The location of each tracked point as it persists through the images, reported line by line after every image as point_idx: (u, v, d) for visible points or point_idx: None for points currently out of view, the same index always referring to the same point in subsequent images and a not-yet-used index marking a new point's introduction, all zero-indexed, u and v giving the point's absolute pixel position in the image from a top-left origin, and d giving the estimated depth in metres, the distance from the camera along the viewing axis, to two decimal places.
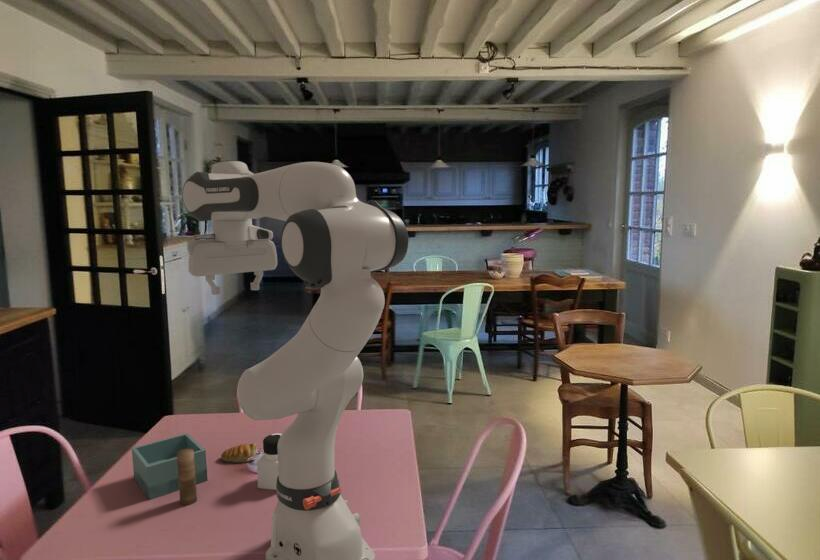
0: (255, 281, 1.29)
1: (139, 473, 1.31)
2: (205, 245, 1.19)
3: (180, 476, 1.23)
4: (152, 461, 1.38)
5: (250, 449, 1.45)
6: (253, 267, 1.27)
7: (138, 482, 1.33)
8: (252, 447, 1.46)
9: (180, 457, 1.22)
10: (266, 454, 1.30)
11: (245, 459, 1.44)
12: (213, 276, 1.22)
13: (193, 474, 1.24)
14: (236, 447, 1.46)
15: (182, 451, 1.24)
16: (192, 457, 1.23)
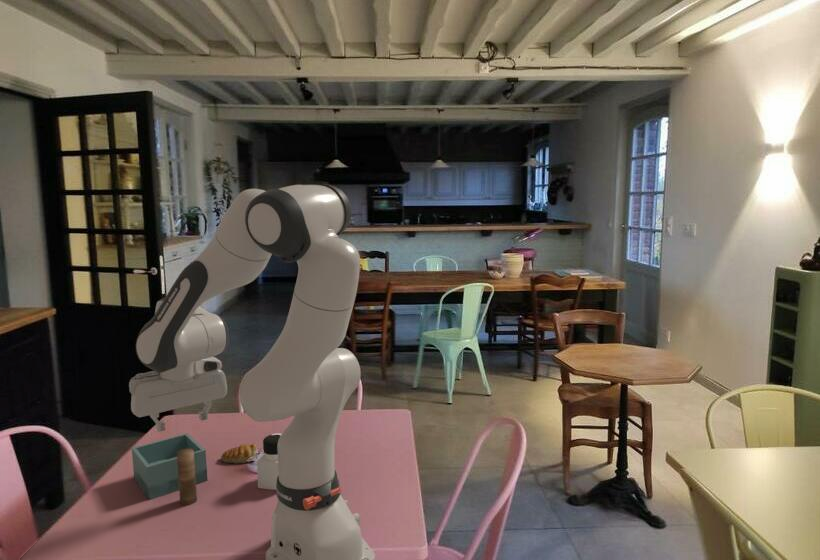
0: (204, 410, 1.26)
1: (139, 473, 1.31)
2: (147, 385, 1.15)
3: (180, 476, 1.23)
4: (152, 461, 1.38)
5: (251, 450, 1.45)
6: (201, 399, 1.23)
7: (138, 482, 1.33)
8: (253, 448, 1.45)
9: (180, 457, 1.22)
10: (266, 454, 1.30)
11: (246, 460, 1.44)
12: (157, 414, 1.18)
13: (193, 474, 1.24)
14: (236, 448, 1.46)
15: (182, 451, 1.24)
16: (192, 457, 1.23)
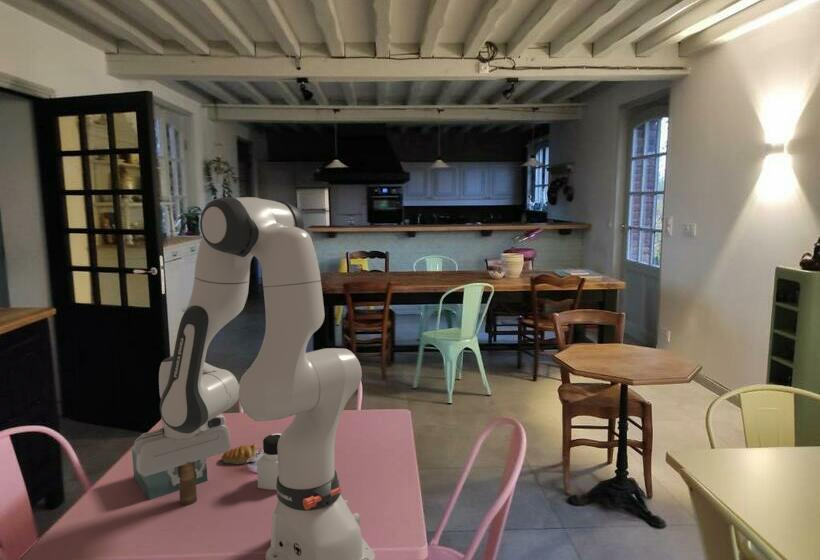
0: (198, 468, 1.26)
1: None
2: (152, 445, 1.17)
3: (180, 476, 1.23)
4: None
5: (251, 450, 1.45)
6: (205, 454, 1.25)
7: (138, 482, 1.33)
8: (253, 448, 1.45)
9: None
10: (266, 454, 1.30)
11: (246, 460, 1.43)
12: (172, 468, 1.21)
13: (193, 474, 1.24)
14: (237, 448, 1.45)
15: None
16: None
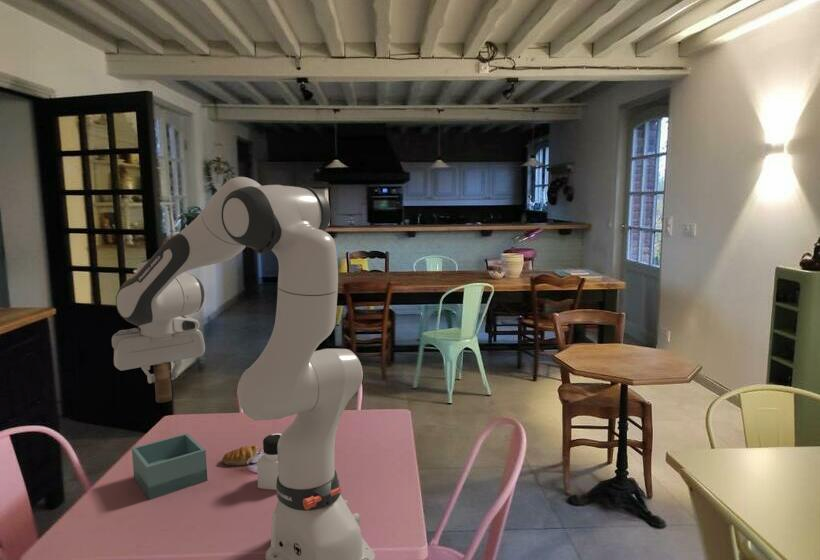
0: (173, 369, 1.33)
1: (139, 473, 1.31)
2: (129, 341, 1.24)
3: (156, 374, 1.30)
4: (152, 461, 1.38)
5: (252, 451, 1.44)
6: (179, 356, 1.32)
7: (138, 482, 1.33)
8: (254, 449, 1.44)
9: None
10: (266, 454, 1.30)
11: None
12: (148, 366, 1.28)
13: (168, 373, 1.31)
14: (238, 450, 1.44)
15: None
16: None
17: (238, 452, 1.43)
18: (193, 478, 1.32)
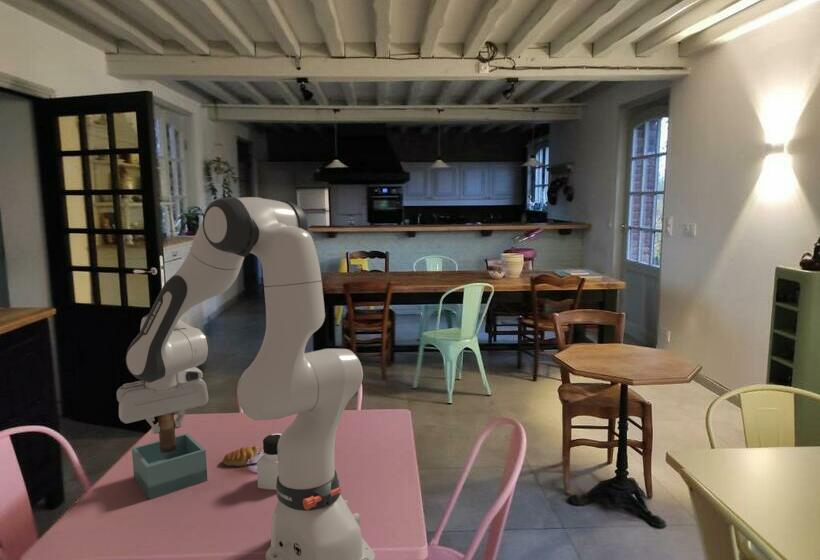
0: (177, 419, 1.35)
1: (139, 473, 1.31)
2: (133, 394, 1.26)
3: (160, 425, 1.32)
4: (152, 461, 1.38)
5: (253, 452, 1.44)
6: (183, 406, 1.34)
7: (138, 482, 1.33)
8: (255, 450, 1.44)
9: None
10: (266, 454, 1.30)
11: None
12: (152, 418, 1.30)
13: (172, 423, 1.33)
14: (238, 451, 1.44)
15: None
16: None
17: (239, 453, 1.43)
18: (193, 478, 1.32)
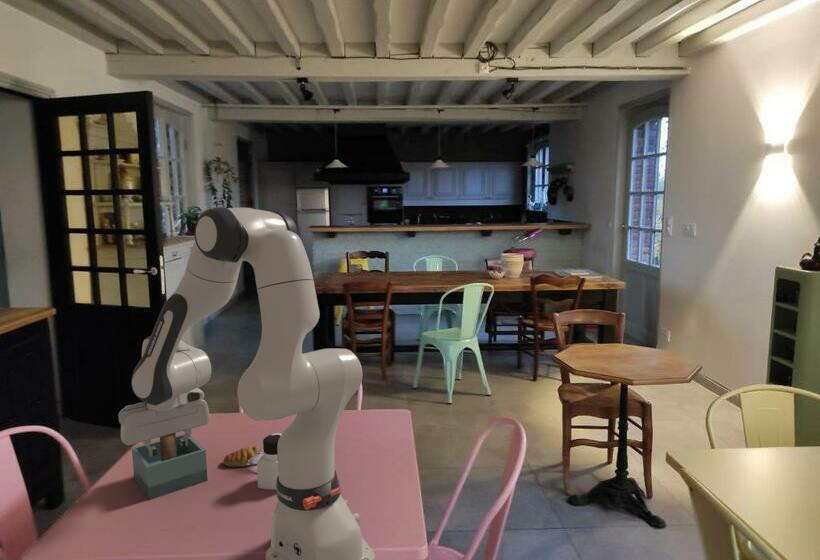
0: (184, 438, 1.37)
1: (139, 473, 1.31)
2: (135, 416, 1.27)
3: (162, 456, 1.33)
4: (152, 461, 1.38)
5: (254, 452, 1.43)
6: (185, 427, 1.35)
7: (138, 482, 1.33)
8: (255, 450, 1.44)
9: (162, 438, 1.32)
10: (266, 454, 1.30)
11: None
12: (149, 440, 1.30)
13: (175, 454, 1.34)
14: (238, 451, 1.44)
15: None
16: (174, 438, 1.34)
17: (239, 453, 1.42)
18: (193, 478, 1.32)
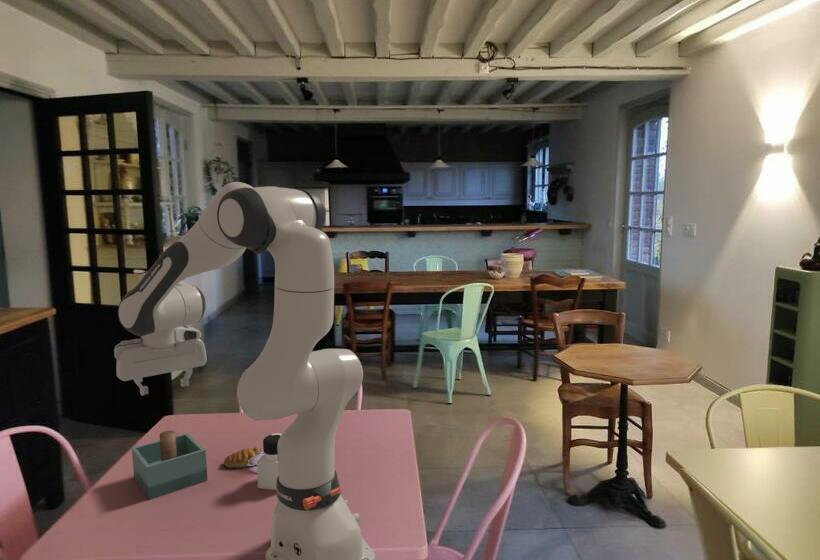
0: (185, 377, 1.35)
1: (139, 473, 1.31)
2: (131, 351, 1.25)
3: (162, 456, 1.33)
4: (152, 461, 1.38)
5: (254, 453, 1.43)
6: (181, 366, 1.33)
7: (138, 482, 1.33)
8: (256, 451, 1.43)
9: (162, 438, 1.32)
10: (266, 454, 1.30)
11: None
12: (140, 378, 1.28)
13: (175, 454, 1.34)
14: (239, 452, 1.43)
15: (164, 433, 1.34)
16: (173, 438, 1.34)
17: (240, 454, 1.42)
18: (193, 478, 1.32)
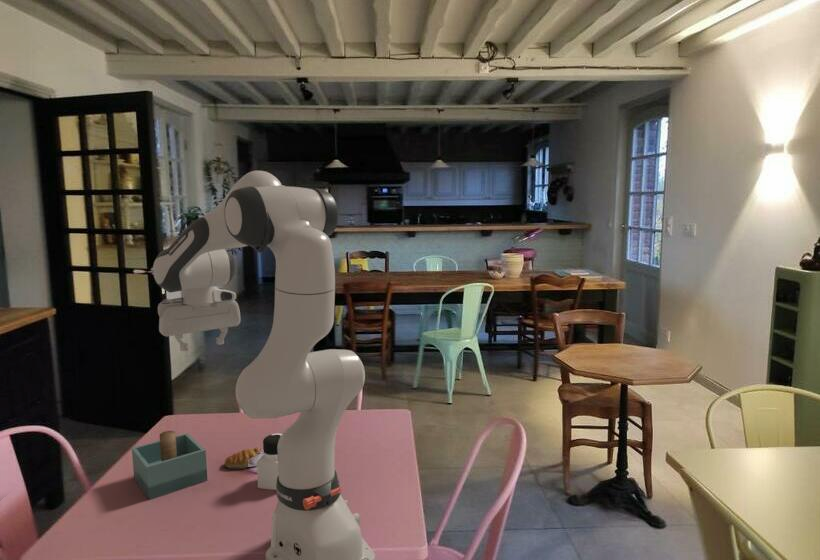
0: (220, 336, 1.45)
1: (139, 473, 1.31)
2: (173, 309, 1.35)
3: (162, 456, 1.33)
4: (152, 461, 1.38)
5: (255, 454, 1.43)
6: (218, 325, 1.42)
7: (138, 482, 1.33)
8: (257, 452, 1.43)
9: (162, 438, 1.32)
10: (266, 454, 1.30)
11: None
12: (181, 335, 1.37)
13: (175, 454, 1.34)
14: (240, 453, 1.43)
15: (164, 433, 1.34)
16: (174, 438, 1.34)
17: (241, 455, 1.42)
18: (193, 478, 1.32)
